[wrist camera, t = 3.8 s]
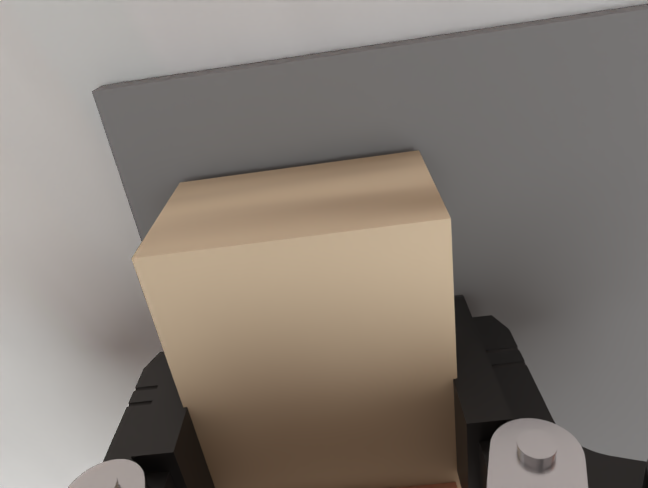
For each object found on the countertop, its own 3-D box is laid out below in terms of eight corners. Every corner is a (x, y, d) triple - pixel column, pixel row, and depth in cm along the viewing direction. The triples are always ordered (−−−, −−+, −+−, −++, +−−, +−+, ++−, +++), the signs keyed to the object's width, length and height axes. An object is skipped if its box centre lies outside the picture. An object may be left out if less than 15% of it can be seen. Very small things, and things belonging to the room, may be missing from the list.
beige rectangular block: (179, 182, 11) (124, 268, 8) (418, 150, 10) (454, 227, 7) (260, 468, 14) (243, 600, 11) (438, 451, 14) (467, 582, 11)
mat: (101, 86, 11) (92, 91, 10) (873, -30, 10) (899, -29, 9) (283, 650, 20) (283, 667, 19) (689, 620, 19) (698, 636, 18)
